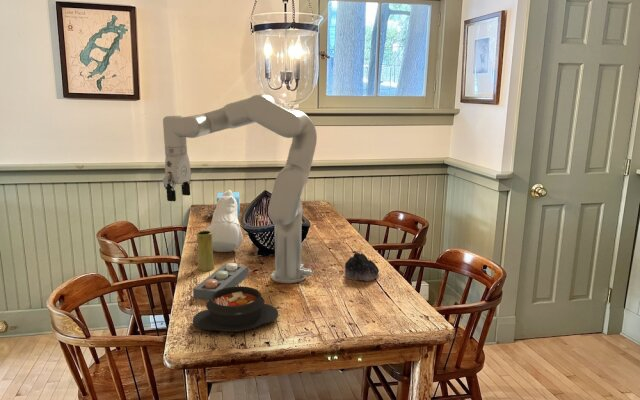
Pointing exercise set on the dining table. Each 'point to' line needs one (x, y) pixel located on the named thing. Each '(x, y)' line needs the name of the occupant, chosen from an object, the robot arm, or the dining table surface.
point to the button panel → (220, 282)
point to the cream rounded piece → (231, 267)
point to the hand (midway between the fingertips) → (179, 198)
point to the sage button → (222, 275)
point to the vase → (205, 251)
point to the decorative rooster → (225, 224)
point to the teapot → (236, 196)
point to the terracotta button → (211, 284)
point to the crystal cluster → (360, 268)
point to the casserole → (235, 310)
